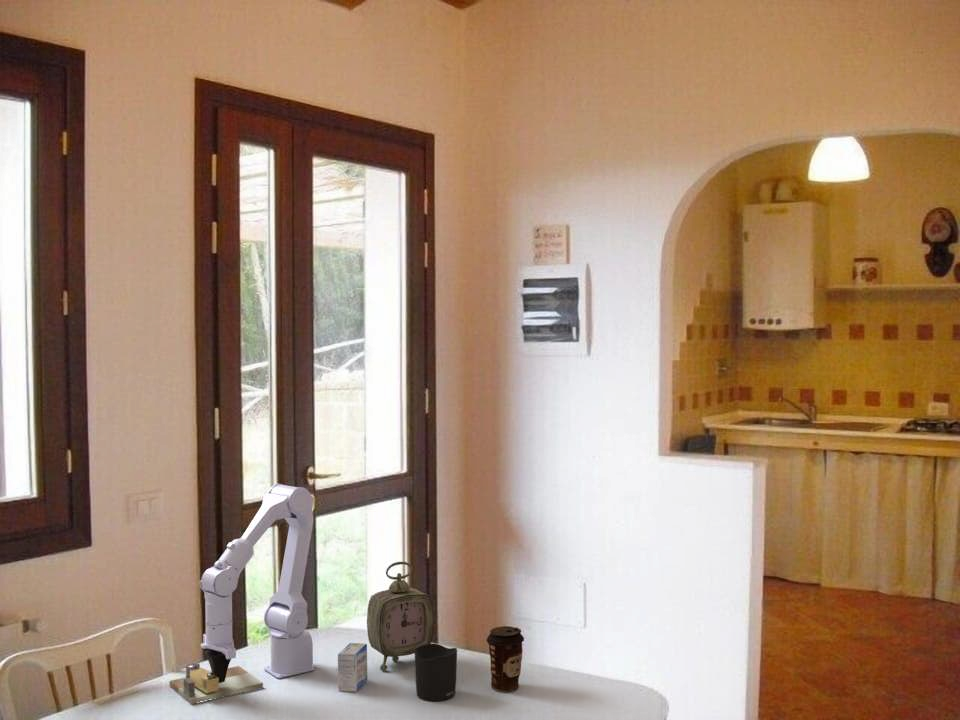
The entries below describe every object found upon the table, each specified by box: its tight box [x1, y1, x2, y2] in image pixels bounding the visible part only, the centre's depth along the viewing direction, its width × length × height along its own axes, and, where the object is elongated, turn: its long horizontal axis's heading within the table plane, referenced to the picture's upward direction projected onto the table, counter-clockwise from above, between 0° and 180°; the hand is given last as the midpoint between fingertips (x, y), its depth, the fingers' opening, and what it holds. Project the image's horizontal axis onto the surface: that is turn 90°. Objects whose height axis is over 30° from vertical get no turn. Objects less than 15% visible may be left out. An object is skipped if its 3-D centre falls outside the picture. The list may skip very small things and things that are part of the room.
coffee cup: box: [486, 625, 525, 693], centre depth 214 cm, size 9×8×13 cm
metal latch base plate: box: [169, 665, 264, 705], centre depth 215 cm, size 16×14×4 cm
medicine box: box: [337, 642, 368, 693], centre depth 216 cm, size 8×4×9 cm, turn 168°
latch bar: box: [185, 662, 219, 693], centre depth 212 cm, size 12×3×4 cm, turn 41°
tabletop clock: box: [366, 561, 435, 672], centre depth 230 cm, size 14×9×25 cm, turn 120°
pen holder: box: [414, 643, 458, 702], centre depth 210 cm, size 9×9×10 cm
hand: (219, 682), depth 212 cm, fingers closed
